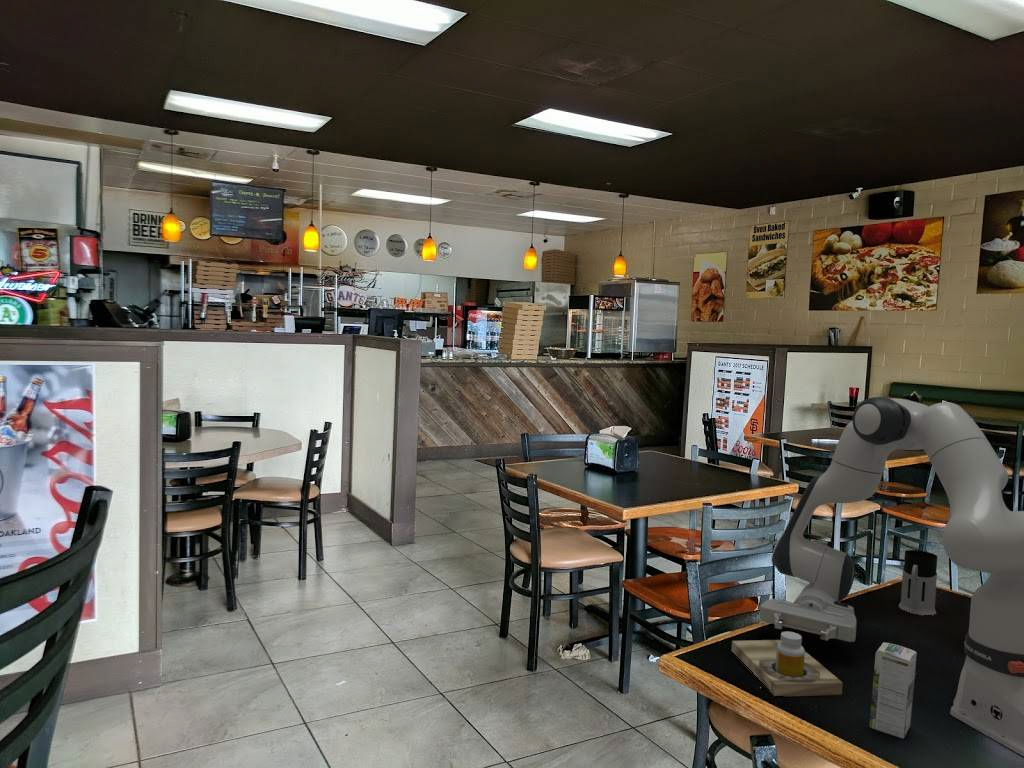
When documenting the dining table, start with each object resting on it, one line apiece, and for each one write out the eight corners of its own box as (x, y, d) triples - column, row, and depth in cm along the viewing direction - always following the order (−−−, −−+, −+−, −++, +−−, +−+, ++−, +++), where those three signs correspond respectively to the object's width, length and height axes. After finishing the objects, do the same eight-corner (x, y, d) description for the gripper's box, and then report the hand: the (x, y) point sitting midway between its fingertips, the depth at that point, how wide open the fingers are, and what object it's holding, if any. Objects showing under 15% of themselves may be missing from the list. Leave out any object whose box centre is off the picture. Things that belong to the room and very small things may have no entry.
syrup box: (876, 715, 132) (881, 640, 131) (911, 727, 128) (917, 649, 127) (868, 728, 128) (873, 650, 127) (905, 740, 124) (911, 660, 123)
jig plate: (841, 694, 140) (842, 682, 139) (774, 696, 138) (775, 684, 138) (790, 650, 159) (791, 639, 159) (731, 651, 158) (732, 640, 158)
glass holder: (938, 609, 188) (942, 554, 187) (929, 624, 177) (933, 566, 176) (902, 600, 194) (905, 547, 193) (890, 615, 183) (894, 558, 182)
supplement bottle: (807, 688, 142) (810, 641, 141) (780, 687, 142) (783, 640, 141) (796, 675, 147) (799, 630, 147) (771, 674, 147) (773, 629, 147)
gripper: (767, 588, 170) (752, 605, 159) (861, 608, 159) (852, 628, 147) (766, 614, 171) (751, 632, 159) (859, 635, 159) (850, 657, 148)
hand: (800, 630), depth 153 cm, fingers open, 8 cm apart
